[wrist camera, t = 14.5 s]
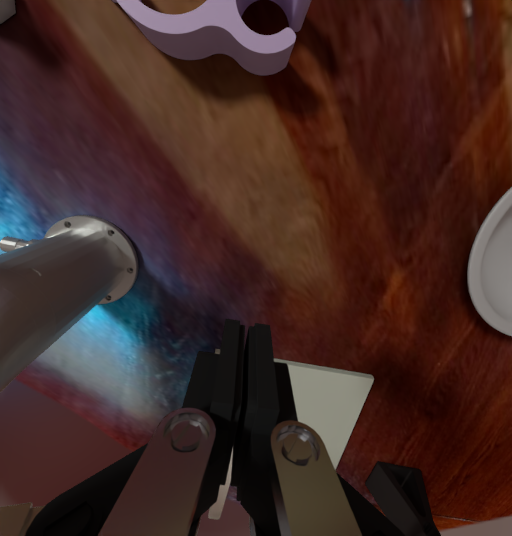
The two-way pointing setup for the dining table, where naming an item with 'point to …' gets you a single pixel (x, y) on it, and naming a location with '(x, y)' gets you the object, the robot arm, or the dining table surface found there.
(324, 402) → the base
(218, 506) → the gate
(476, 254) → the soup bowl
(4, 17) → the flask
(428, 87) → the dining table surface
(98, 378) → the dining table surface
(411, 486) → the phone stand
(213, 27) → the clip
